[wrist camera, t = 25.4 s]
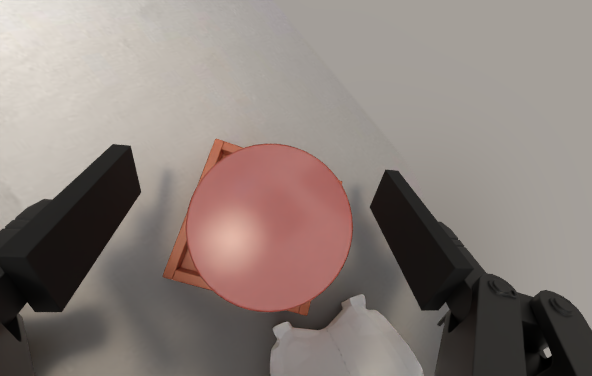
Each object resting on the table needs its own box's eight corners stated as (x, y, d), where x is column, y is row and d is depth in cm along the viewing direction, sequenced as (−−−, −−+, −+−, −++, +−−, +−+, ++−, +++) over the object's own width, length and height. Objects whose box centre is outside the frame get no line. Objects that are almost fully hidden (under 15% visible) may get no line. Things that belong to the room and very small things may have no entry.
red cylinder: (313, 199, 19) (368, 171, 10) (291, 281, 18) (331, 331, 9) (233, 173, 18) (219, 121, 9) (204, 258, 17) (156, 287, 8)
